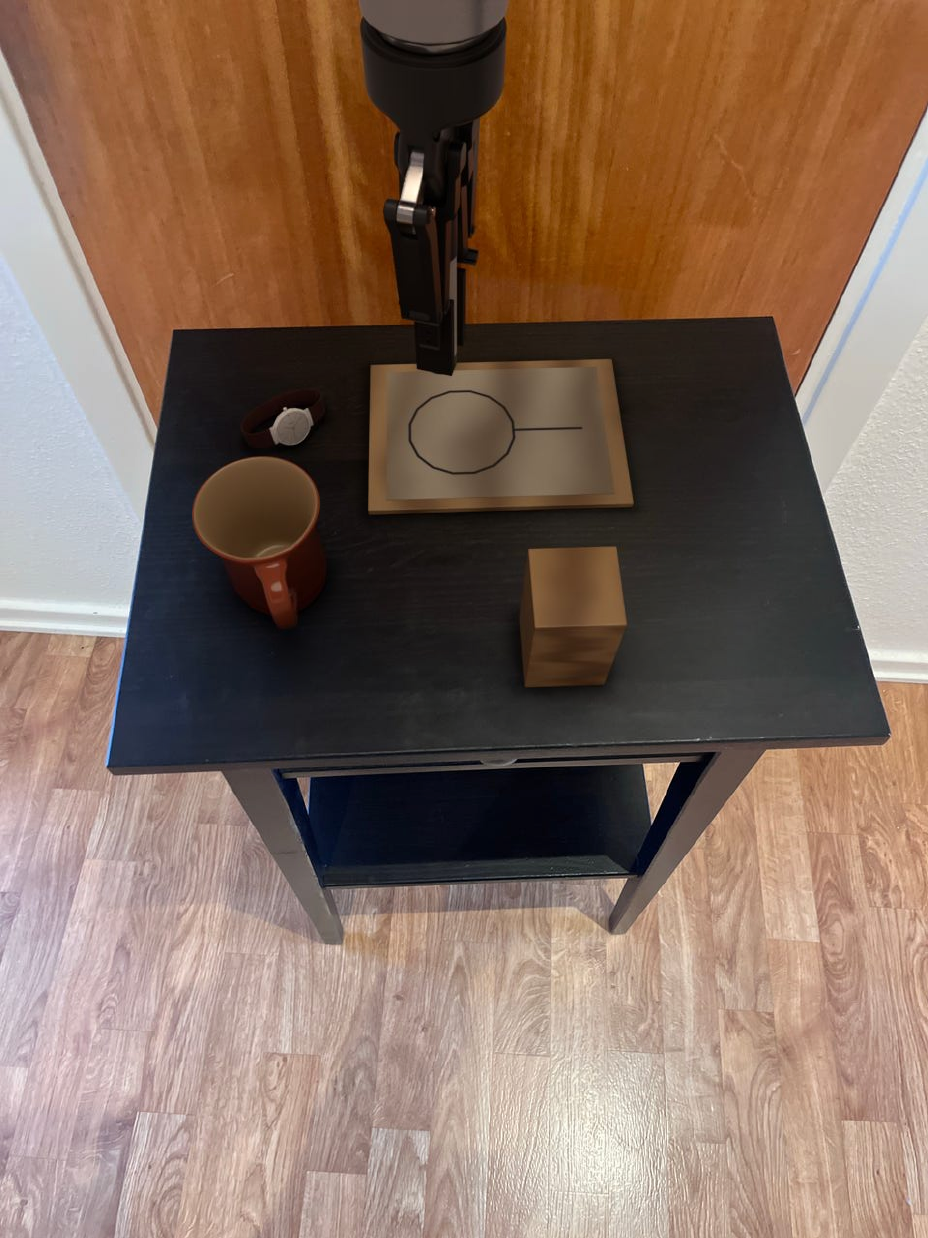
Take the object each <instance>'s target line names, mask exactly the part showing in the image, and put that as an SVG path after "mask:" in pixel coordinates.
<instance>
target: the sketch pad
mask: <svg viewBox="0 0 928 1238" xmlns="http://www.w3.org/2000/svg"><path fill="white" fill-rule="evenodd" d="M369 380H370V382H369V385H370V386H369V436H368V437H369V439H368V440H369V441H368V446H369V447H368V494H367V495H368V497H367V498H368V499H367V501H368V502H367V504H368V505H367V511H368V515H369V516H370V515H371V516H372V515H402V514H407V515H408V514H439V513H441V514H442V513H470V512H471V513H472V512H473V513H474V512H476V513H477V512H509V511H510V512H511V511H544V510H545V511H547V510H572V509H573V510H580V509H612V508H613V509H615V508H633V507H634V495H633V490H632V482H631V476H630V471H629V464H628V457H627V450H626V444H625V438H624V432H623V431H624V430H623V425H622V424H623V423H622V420H621V419H622V418H621V412H620V404H619V399H618V391H617V386H616V379H615V373H614V366H613V361H612V358H594V359H558V360H557V359H556V360H519V361H517V360H516V361H515V360H514V361H477V362H476V361H473V362H457V365H456V367H455V369H454V372H453V375H452V376H448V375H439V374H434V373H432V372H428V371H423V370H418V369H417V365H416V363H397V364H371V365H370V379H369Z"/></svg>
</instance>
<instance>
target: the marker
mask: <svg viewBox="0 0 928 1238" xmlns="http://www.w3.org/2000/svg"><path fill="white" fill-rule="evenodd" d="M449 299H453V300H454V355H455V367H456V365H457V363H458V345H457V212H456V214H455V216H454V218H453V219H452V220H451V254H450V292H449ZM432 373H433V372H432ZM434 374H438V373H434ZM439 375H443V374H439Z"/></svg>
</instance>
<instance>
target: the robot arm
mask: <svg viewBox="0 0 928 1238" xmlns="http://www.w3.org/2000/svg"><path fill="white" fill-rule="evenodd" d="M509 6H510V0H358V7H359V10H360V13H361V15H362V17H361V19H360V22H359V23H360V24H359V32H360V44H361V53H362V63H363V74H364V76H363V77H364V85H365V90H366V93H367V95H368V98H369V99H370V101H371V102H372V104H373V106H374V107H375V108H376V109H377V110H378V111H379V112H381V113H382V114H383V115H384V116H385V117H386V118H388V119H389V120H390V121H391V122H392V123H393V124H394V125H395V126H396V127H397V129H398V130H397V131H396V133H395V136H394V141H393V160H394V161H393V162H394V165H395V167H396V168H397V171H398V194H399V195H398V196H399V197H398V199H396V198H395V199H394V198H390V197H387V198H386V200H385V201H384V204H383V207H382V214H383V222H384V225H385V226H386V228H387V231H388V233H389V236H390V244H391V251H392V260H393V266H394V267H393V268H394V274H395V282H396V288H397V295H398V296H397V297H398V305H399V310H400V317H401V320H406V321H411V322H413V329H414V330H413V332H414V346H415V347H414V348H415V359H416V360H415V362H416V363H415V364H416V365H417V369H418V370H423V371H428V372H433V373H438V374H443V375H448V376H452V375H453V372H454V369H455V355H454V300H453V299H449V292H450V254H451V220H452V219H453V218H454V216H455V214H456V212H457V346H459V347H463V346H464V344H465V341H466V318H467V317H466V315H467V314H466V311H467V310H466V309H467V308H466V305H467V301H466V300H467V299H466V298H467V268H464V267H462V265H467V266H473V267H476V266H477V263H478V260H479V254H480V251H479V249H476V248H470V247H469V239H472V238H473V236H474V235H475V233H476V225H475V223H476V202H477V186H478V167H479V165H478V164H479V144H480V143H479V142H480V123H481V118H482V117H483V116H485V115H486V114H487V113H489V112H490V111H491V110H492V109H493V108H494V107H495V105H496V104H497V103H498V101H499V100H500V98H501V96H502V94H503V91H504V86H505V75H506V74H505V71H506V51H507V32H508V31H507V30H508V29H507V28H508V25H507V20H506V18H505V17H506V15H507V11H508V9H509Z"/></svg>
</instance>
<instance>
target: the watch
mask: <svg viewBox="0 0 928 1238" xmlns="http://www.w3.org/2000/svg"><path fill="white" fill-rule="evenodd" d="M323 398H324V397H323V393H322V392H321V391H320V390H319V389H316V388H311V387H309V388H308V387H303V388H298V389H293V390H290V391H287V392H283V393H281V394H277V395H275V396H274V397H271V398H269V399H267V400H266V401H265V402H264V403H262V404H260V405H258V406H257V407H256V408H253V409H252V410H251V411H250V412H249V413H247V415H245V417H244V418H243V419H242V421H241V423H240V426H239V427H240V428H239V430H240V432H241V434H242V436H243V439H244V440H245V442H246V444H247V445H248V446H249V447H251V448H254V449H262V448H265V447H270V446H272V445H278V444H279V443H280V444H283V445H285V446H294V445H298V444H300V443H301V442H302V441H304V440H305V439H306V437H307V436H308V435H309V433H310V430H311V427H312V426H314V424H315V423H316V422H318V421H319V420H320V419H321V418H322V417H323V416H324V415H325V413H326V406H325V402H324V399H323ZM307 404H313V405H312V406H309V407H308V408H307V407H306V408H304V409H301V408H296V407H298V406H302V405H307ZM276 416H277V417H276ZM273 417H276V419H275V421H274V423H273V425H272V426H271V427H269V428H268V429H266V430H262V431H259V432H255V433H253V432H254V430H255V429H256V428H257V427H259V426H260V425H262V424H263V423H264V422H266V421H268V420H270V419H272V418H273Z"/></svg>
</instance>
